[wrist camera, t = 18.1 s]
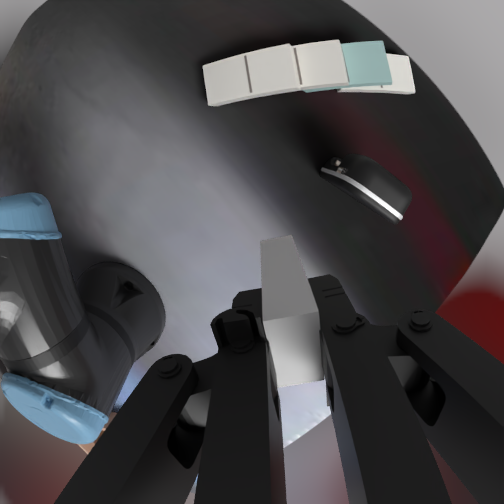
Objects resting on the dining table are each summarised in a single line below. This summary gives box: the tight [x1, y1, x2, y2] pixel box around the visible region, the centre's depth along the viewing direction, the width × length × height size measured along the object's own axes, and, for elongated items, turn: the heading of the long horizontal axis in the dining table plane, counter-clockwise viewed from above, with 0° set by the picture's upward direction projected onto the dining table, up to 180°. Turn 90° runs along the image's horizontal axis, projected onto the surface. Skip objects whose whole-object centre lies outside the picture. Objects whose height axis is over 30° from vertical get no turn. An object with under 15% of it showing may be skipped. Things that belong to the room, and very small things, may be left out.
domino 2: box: [261, 40, 349, 97], centre depth 25 cm, size 2×5×10 cm
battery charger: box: [319, 154, 412, 224], centre depth 27 cm, size 7×4×11 cm, turn 61°
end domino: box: [337, 54, 415, 94], centre depth 26 cm, size 2×5×10 cm
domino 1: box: [203, 44, 301, 106], centre depth 26 cm, size 2×5×10 cm
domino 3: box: [303, 41, 392, 93], centre depth 25 cm, size 2×5×10 cm
